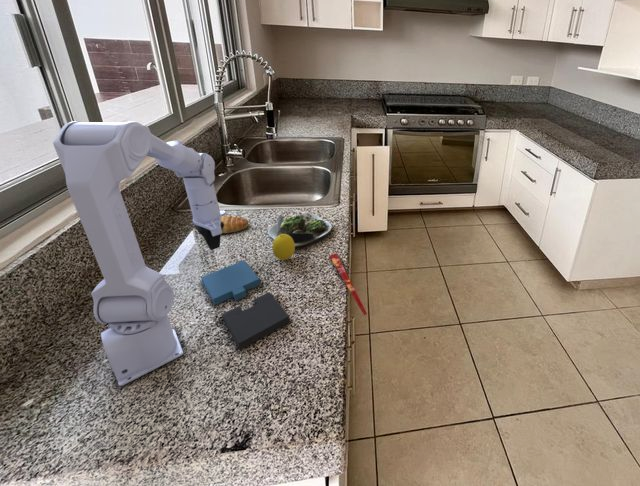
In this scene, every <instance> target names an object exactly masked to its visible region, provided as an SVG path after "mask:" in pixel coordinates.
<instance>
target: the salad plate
mask: <svg viewBox="0 0 640 486" xmlns="http://www.w3.org/2000/svg"><path fill="white" fill-rule="evenodd" d="M285 217H286V218H285V219H284V216H283V215H279V216H277V218H276V223H275V224H273V225H272V226H270V228H268V231H267V234H268V235H269V237H270V238H271V239H272V240H274V239H275V238H276V237H277V236H279V235H281V234H287V235H289V236H291V237H292V239H293V241H294V244H295V250H302V249H305V248H308V247H310V246H313V245H315V244H318V243H319V242H321V241H323V240H325V239H326V238H327V237H328V236H329V235H330V234H331V233H332V231H333V225H332V224H331V223H330V221H328V220H325V218H322V217H321V216H319V215H317V214H316V213H309V212H308V213H301V214H298V215H292V216H290V217H289V215H288V216H285Z"/></svg>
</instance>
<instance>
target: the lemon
mask: <svg viewBox="0 0 640 486" xmlns="http://www.w3.org/2000/svg"><path fill="white" fill-rule="evenodd" d="M271 248H272V253H273V255H274V256H275V258H276V259H278V260H281V261H287V260H289V259H290V258H292V257H293V256H294V254H295V250H296V249H295V244H294V241H293V239H292V237H291V236H289V235H287V234H281V235H279V236H277V237H276V238H275V239H273V241H272V247H271Z"/></svg>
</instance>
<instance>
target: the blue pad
mask: <svg viewBox="0 0 640 486" xmlns="http://www.w3.org/2000/svg"><path fill="white" fill-rule="evenodd" d="M200 279H201V283H202V285H203V287H204V289H205V290H206V292H207V294H208V295H209V297H210V299H211V301H212V303H213V304H214V306H216V305H218V304H220V303H223V302H225V301H227V300H230V299H232V298H233V299H234V301H235V302H237V301H239V300H241V299H244V298H246V297H247V296H248V295H247V291H249V290H251V289H252V290H253V289H254V288H256V287H258V286H260V285H261V281H260V278H259V276H258V275H257V274H256V273H255V271H254V270H253V269H252V268H251V267H250V265H249V264H248V262H247V261H246V260H245V259H244V260H240V261H239V262H236V263H233V264H231V265H228V266H225V267H223V268H221V269H218V270H215V271H213V272H210V273H208V274H205V275H202V276H201V277H200Z"/></svg>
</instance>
